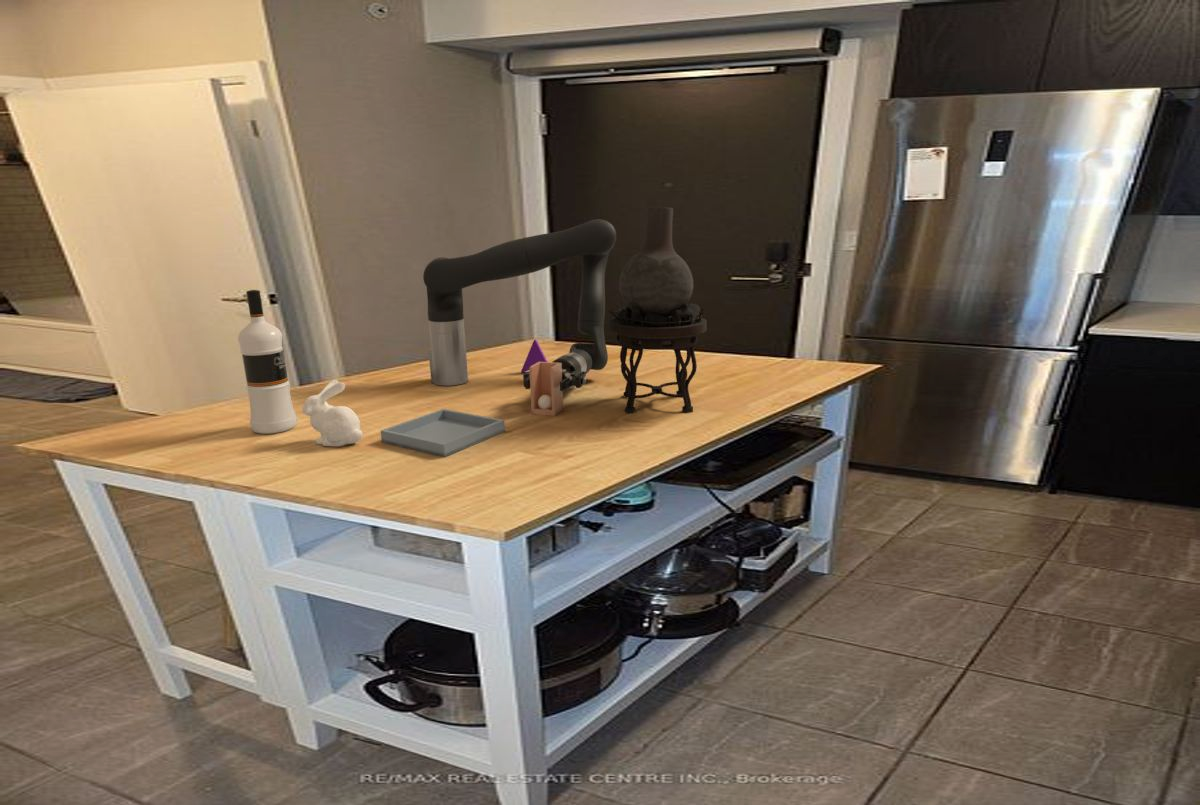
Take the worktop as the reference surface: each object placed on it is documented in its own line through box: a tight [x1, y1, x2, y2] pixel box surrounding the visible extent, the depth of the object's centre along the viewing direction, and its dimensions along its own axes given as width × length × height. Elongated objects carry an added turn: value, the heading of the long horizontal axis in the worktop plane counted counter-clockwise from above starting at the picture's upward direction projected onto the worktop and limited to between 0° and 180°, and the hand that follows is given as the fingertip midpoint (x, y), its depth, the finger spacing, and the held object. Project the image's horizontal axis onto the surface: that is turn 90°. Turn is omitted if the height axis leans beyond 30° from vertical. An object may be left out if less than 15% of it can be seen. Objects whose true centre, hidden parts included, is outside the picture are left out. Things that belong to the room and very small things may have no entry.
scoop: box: [528, 361, 564, 417], centre depth 154 cm, size 6×6×11 cm
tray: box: [380, 408, 506, 458], centre depth 139 cm, size 18×18×2 cm
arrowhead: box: [520, 339, 548, 374], centre depth 192 cm, size 10×2×10 cm
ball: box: [538, 395, 552, 409], centre depth 154 cm, size 3×3×3 cm
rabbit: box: [302, 379, 364, 447], centre depth 136 cm, size 12×9×12 cm
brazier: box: [607, 206, 708, 414], centre depth 154 cm, size 22×22×45 cm
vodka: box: [237, 289, 298, 435], centre depth 143 cm, size 9×9×30 cm
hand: (543, 385), depth 152 cm, fingers open, 8 cm apart
